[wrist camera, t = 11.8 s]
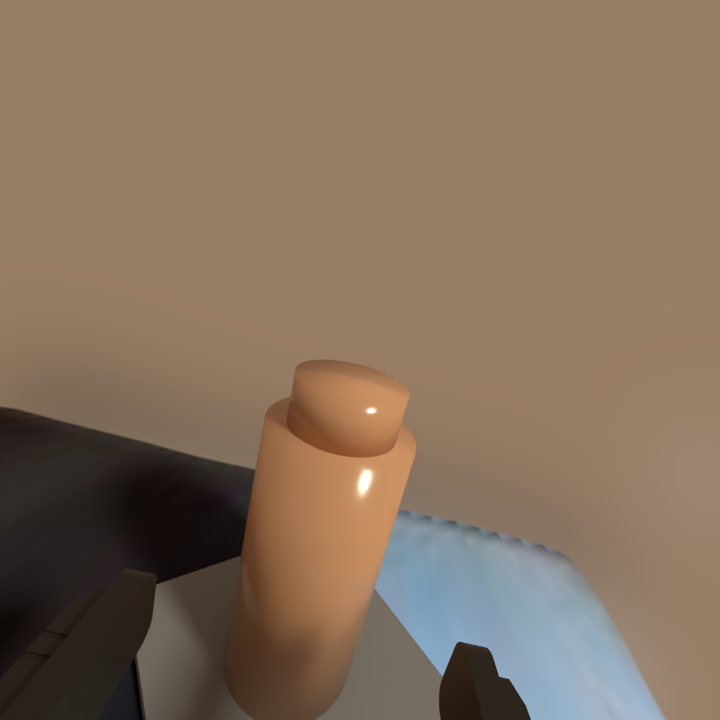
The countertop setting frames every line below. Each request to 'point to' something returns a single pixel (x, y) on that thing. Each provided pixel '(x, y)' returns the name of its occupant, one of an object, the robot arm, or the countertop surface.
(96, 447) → the countertop surface
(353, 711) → the mat
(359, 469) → the peach capped cylinder
